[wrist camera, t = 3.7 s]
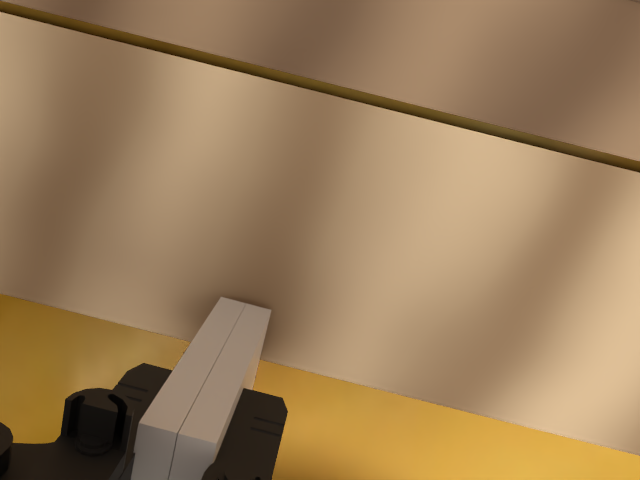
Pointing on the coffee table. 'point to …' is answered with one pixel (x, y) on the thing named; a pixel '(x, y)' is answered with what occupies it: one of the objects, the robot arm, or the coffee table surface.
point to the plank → (321, 231)
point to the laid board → (425, 53)
